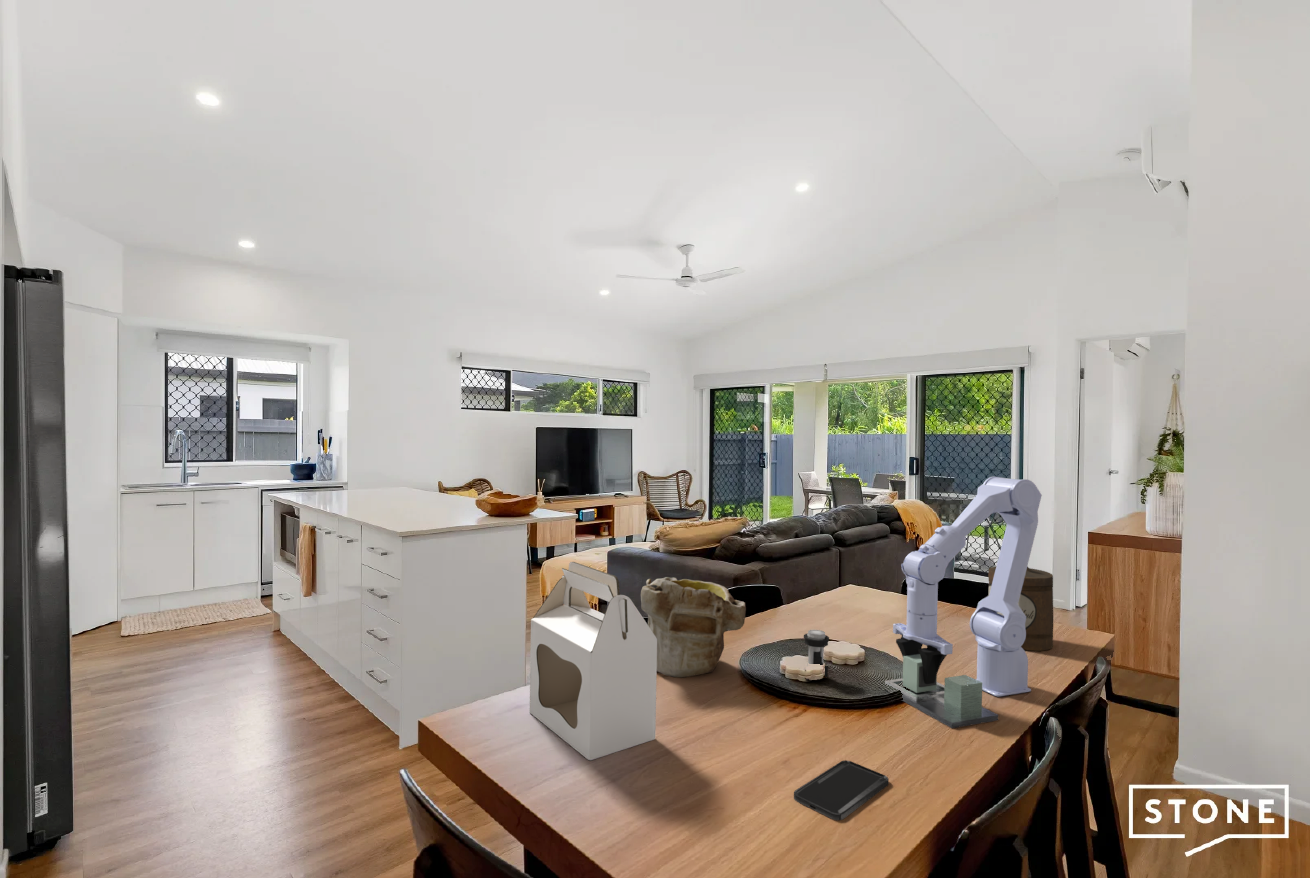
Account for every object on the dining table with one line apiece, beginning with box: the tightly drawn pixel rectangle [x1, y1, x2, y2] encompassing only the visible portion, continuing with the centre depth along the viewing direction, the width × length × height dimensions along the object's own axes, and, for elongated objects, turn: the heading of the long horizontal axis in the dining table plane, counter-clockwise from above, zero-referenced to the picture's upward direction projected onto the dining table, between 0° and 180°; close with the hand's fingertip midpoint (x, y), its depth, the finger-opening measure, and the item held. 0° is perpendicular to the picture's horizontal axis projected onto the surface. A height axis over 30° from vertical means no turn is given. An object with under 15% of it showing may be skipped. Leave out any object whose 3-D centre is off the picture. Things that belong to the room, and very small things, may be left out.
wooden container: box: [987, 565, 1054, 652], centre depth 169 cm, size 15×15×22 cm
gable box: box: [529, 561, 658, 761], centre depth 116 cm, size 22×13×28 cm, turn 36°
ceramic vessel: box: [640, 576, 747, 678], centre depth 146 cm, size 23×24×25 cm
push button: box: [803, 629, 830, 677], centre depth 140 cm, size 7×5×10 cm
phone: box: [793, 759, 889, 821], centre depth 97 cm, size 8×1×15 cm
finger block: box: [902, 654, 938, 693], centre depth 133 cm, size 4×5×6 cm
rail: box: [885, 674, 999, 729], centre depth 129 cm, size 20×11×7 cm, turn 20°
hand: (920, 678), depth 133 cm, fingers closed on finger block, 4 cm apart
